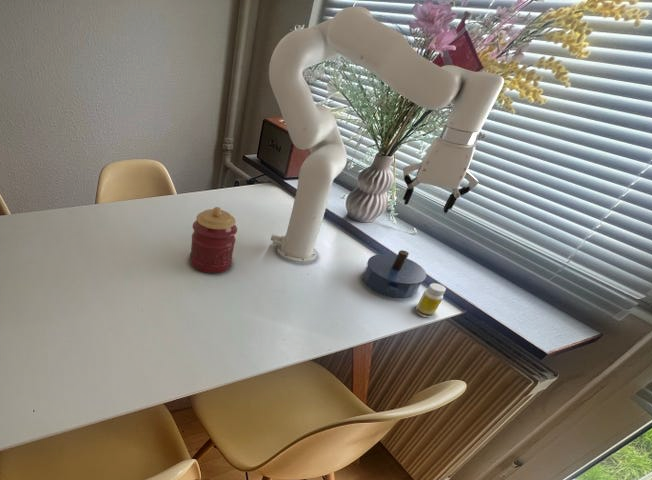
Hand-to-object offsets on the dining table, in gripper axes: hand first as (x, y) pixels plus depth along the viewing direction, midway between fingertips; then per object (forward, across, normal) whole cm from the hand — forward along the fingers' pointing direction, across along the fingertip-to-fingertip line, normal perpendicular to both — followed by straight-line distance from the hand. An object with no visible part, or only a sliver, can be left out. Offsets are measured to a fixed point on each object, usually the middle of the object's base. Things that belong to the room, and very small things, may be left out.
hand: (425, 206), depth 112 cm
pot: (+24, 0, 0) cm, 24 cm away
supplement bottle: (+24, -10, +10) cm, 28 cm away
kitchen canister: (+24, +52, +14) cm, 59 cm away
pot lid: (+19, 0, 0) cm, 19 cm away
